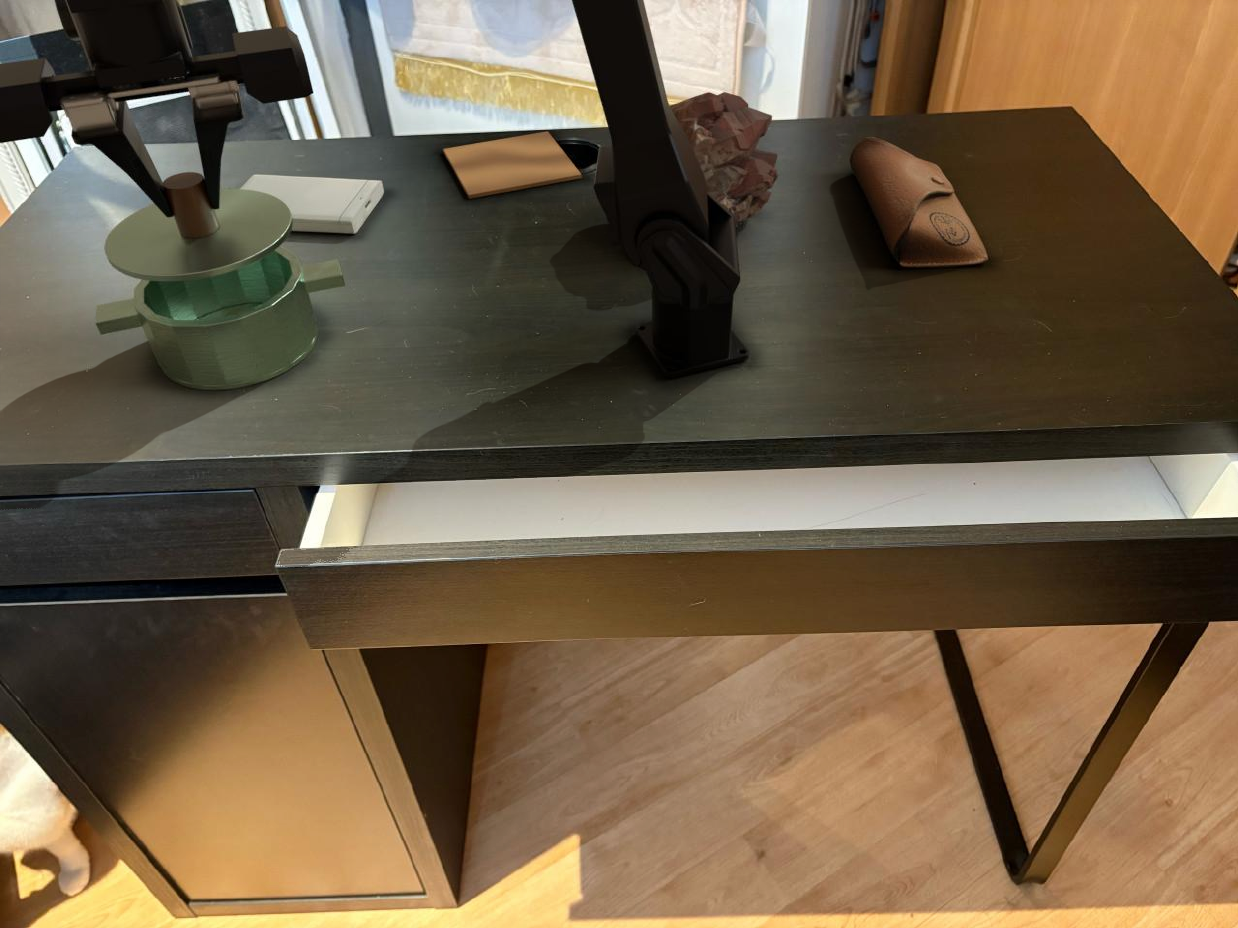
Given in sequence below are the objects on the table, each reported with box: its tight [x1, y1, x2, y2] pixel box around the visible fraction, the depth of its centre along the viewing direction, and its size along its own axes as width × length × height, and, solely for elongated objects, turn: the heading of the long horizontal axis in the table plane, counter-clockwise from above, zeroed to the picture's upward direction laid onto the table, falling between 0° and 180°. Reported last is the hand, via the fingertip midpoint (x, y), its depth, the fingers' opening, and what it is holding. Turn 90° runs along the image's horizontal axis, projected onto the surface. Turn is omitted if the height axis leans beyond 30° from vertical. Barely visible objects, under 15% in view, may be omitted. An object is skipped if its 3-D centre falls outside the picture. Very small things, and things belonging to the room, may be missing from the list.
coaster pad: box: [442, 130, 583, 200], centre depth 94 cm, size 11×11×1 cm
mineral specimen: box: [669, 91, 779, 228], centre depth 80 cm, size 12×13×15 cm
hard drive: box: [239, 174, 385, 235], centre depth 87 cm, size 2×8×12 cm
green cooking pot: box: [94, 245, 346, 391], centre depth 70 cm, size 11×17×5 cm
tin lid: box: [104, 171, 293, 282], centre depth 64 cm, size 12×12×5 cm
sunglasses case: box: [849, 136, 989, 269], centre depth 83 cm, size 18×7×7 cm, turn 2°
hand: (193, 210), depth 64 cm, fingers closed on tin lid, 3 cm apart
